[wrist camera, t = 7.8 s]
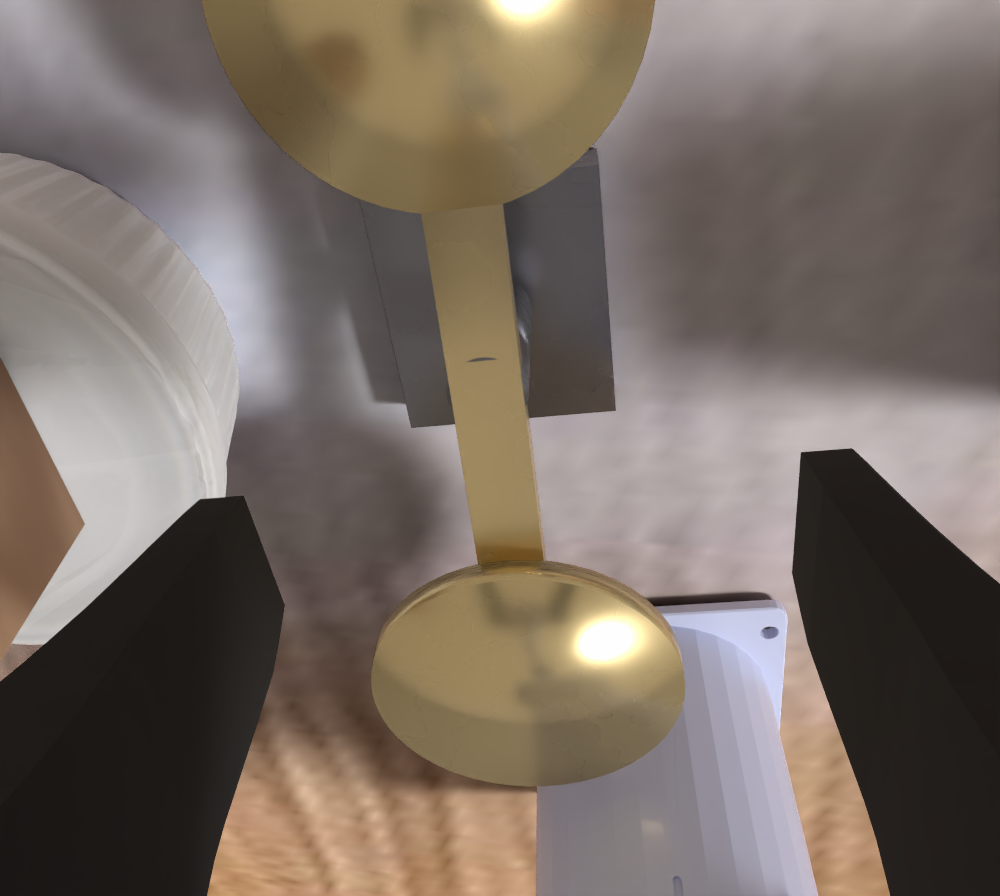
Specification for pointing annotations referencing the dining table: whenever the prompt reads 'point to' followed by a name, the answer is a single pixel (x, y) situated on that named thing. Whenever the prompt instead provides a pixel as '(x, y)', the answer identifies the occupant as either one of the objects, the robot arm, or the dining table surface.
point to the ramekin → (110, 371)
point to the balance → (482, 341)
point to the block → (28, 514)
